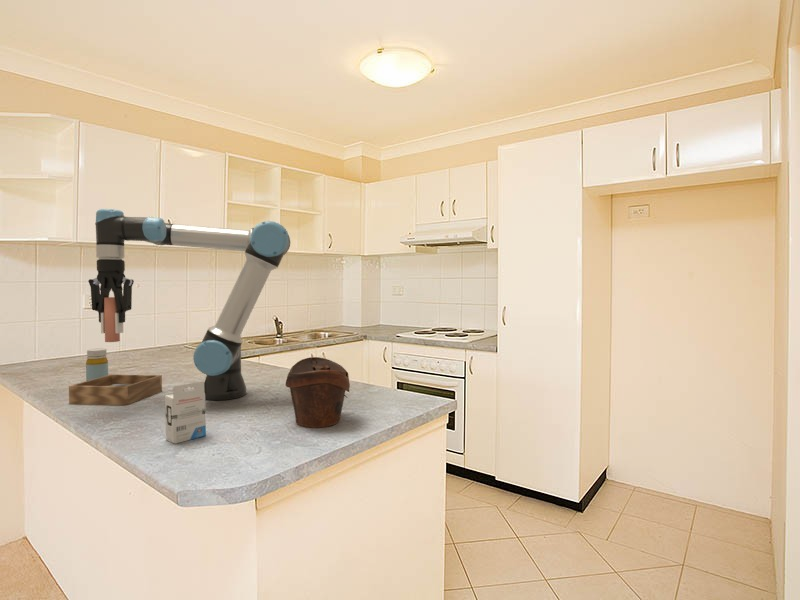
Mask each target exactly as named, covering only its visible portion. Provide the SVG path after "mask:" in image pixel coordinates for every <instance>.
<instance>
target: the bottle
mask: <svg viewBox="0 0 800 600" xmlns="http://www.w3.org/2000/svg"><path fill="white" fill-rule="evenodd" d="M86 356H87V359H86V362H85V377H86V378H85V379H86V380H85V381H89V380H92V379H96V378H100V377H103V376H107V375H109V361H108V357H107V349H106V348H102V347H101V348H91V349H87V350H86Z"/></svg>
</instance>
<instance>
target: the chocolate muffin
mask: <svg viewBox="0 0 800 600" xmlns="http://www.w3.org/2000/svg"><path fill="white" fill-rule="evenodd" d="M350 386H351V383H350V376H349V372H347V370H346V369H345V368H344V367H343V366H342V365H341V364H339V363H337V362H336V361H333V360H331V359H329V358H325V357H317V356H316V357H315V356H311V357H307V358H302V359H301V360H299V361H297V362H296V363H295V364H294V365H292V366H291V367H290V370H289V371H288V373H287V376H286V381H285V387H287V388H289V392H290V397H291V402H292V406H293V411H294V418H295V423H296V424H297V425H298V426H301V427H306V428H312V429H317V428H319V429H320V428H327V427H331V426H334V425H336V424H338V423H339V422H340V420H341V416H342V411H343V407H344V401H345V398H347V395H346V392H348V393H350Z"/></svg>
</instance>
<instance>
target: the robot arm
mask: <svg viewBox="0 0 800 600" xmlns="http://www.w3.org/2000/svg"><path fill="white" fill-rule="evenodd" d="M94 224H95V238H96V239H95V241H96V243H95V244H96V245H95V250H96V251H95V252H96V254H95V255H96V256H95V257H96V258H98V259H97V260H96V271H97V275H96V277H95V278H92V279H91V278H90V279H88V280H87V281H88V283H89V286H90V297H91V298H90V299H91V310H92V311H96V312H98V322H99V323H100V333H101V334H105V319H104V297H110V293H111V291H112V292H113V297H115V302H116V307H117V311H116V312H117V313H115V333H120V334H123V333H124V323H125V322H126V312H128V311H131V310H132V302H133V301H132V299H133V298H132V295H133V294H132V293H133V285H134V281H135V280H134V279H132V278H127V277H126V275H125V270H126V269H125V267H126V264H125V263H126V262H125V260H123V259H125V242H126V241H129V242H130V241H132V242H133V241H134V242H135V241H137V242H146V243H151V244H154V245H157V246H177V247H190V248H201V249H202V248H203V249H213V250H214V249H215V250H227V251H235V252H236V251H240V252H244V255H245V257H246V259H245V262H244V264H243V266H242V268H241V270H240V272H239V274H238V276H237V278H236V281H235V283H234V285H233V287H232V289H231V291H230V294H229V295H228V298H227V300H226V302H225V304H224V306H223V308H222V310H221V313H220V315H219V317H218V318H217V321H216V323H215V324H214V325H212V326H210V327H208V328H207V330H206V333H205V334H204V336H203V339H202V341H201V342H200V344H198V345H197V347H196V348H195V350H194V352H193V358H192V359H193V363H194V366H195V367H196V369H197V370H198V371H199V372H200V373H201V374H203V375H206V376H205V379H204V392H205V400H208V401H209V400H211V401H223V400H224V401H226V400H231V399H232V400H234V399H239V398H241V397H244V396H246V394H247V385H246V383H245V380H244V376H243V375H242V344H243V339H242V336H241V335H242V333H243V331H244V329H245V326H246V324H247V322H248V321H249V318H250V316H251V313H252V312H253V309H254V308H255V306H256V303H257V302H258V298H259V297H260V295H261V292H262V290H263V288H264V286H265V285H266V282H267V280H268V278H269V276H270V274H271V271H274V270H276V269H278V267H279V265H280V264H281V262H282V259H283V258H284V256H285V255H286V254H287V253H288V252H289V250H290V247H291V237H290V236H289V233H288V230H287V229H286V228H285V227H284V225H282V224H281V223H279V222H276V221H273V220H272V221H271V220H266V221H265V220H264V221H262V222H259V223H257V225H255V227H251V228H250V229H249V230H247V229H237V228H236V229H235V228H224V227H214V226H212V227H211V226H201V225H191V224H190V225H189V224H180V223H179V224H178V223H177V224H176V223H167V222H165V220H164V219H163V218H161V217H153V216H146V217H145V216H143V217H142V216H125V215H124V212H123V211H122V210H119V209H115V208H114V209H110V208H100V209H98V210H97V211H96V212H95V223H94ZM122 284H123V285H122Z"/></svg>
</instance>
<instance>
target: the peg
mask: <svg viewBox="0 0 800 600" xmlns="http://www.w3.org/2000/svg"><path fill="white" fill-rule="evenodd" d="M116 311H117V307H116V302H115V297H114V296H109V297H104V319H105V333H104V342H105V343H118V342H121V337H120V335H121V333H115V313H117V312H116Z"/></svg>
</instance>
